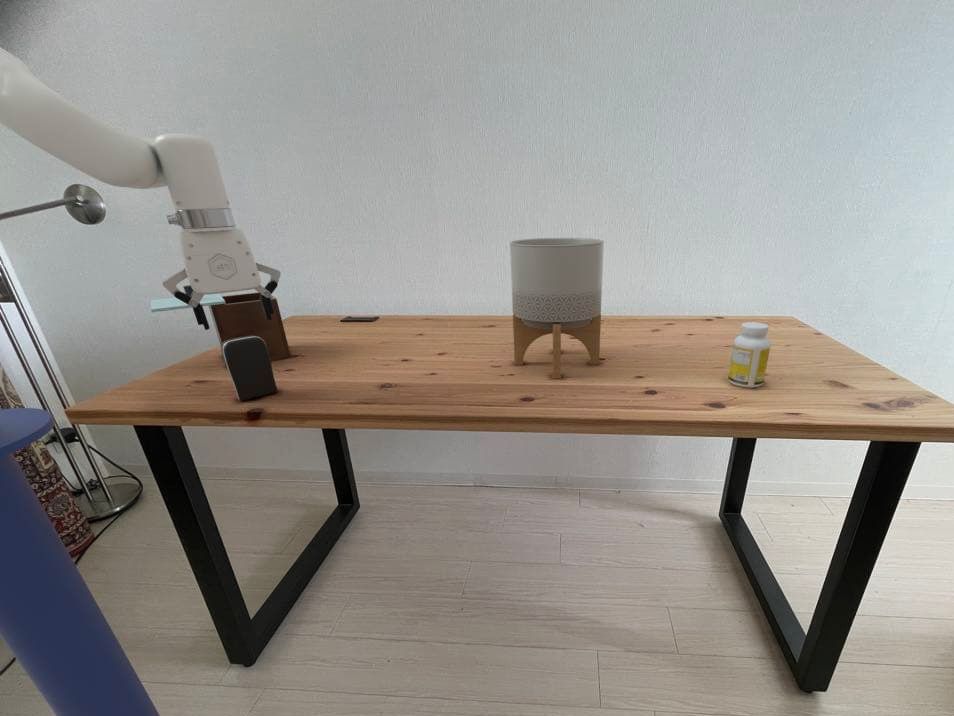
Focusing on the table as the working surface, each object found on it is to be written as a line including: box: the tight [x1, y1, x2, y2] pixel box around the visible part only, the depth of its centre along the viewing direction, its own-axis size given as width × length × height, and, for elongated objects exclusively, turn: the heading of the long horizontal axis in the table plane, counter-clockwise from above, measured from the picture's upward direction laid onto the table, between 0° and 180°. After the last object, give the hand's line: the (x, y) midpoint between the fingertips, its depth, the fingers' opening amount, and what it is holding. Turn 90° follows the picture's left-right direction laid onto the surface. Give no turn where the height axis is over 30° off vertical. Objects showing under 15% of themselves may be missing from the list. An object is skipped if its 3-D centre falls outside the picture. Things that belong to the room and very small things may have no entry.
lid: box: [150, 284, 226, 313], centre depth 98 cm, size 13×13×4 cm
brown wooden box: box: [207, 291, 292, 362], centre depth 107 cm, size 13×13×14 cm
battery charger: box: [220, 335, 279, 402], centre depth 85 cm, size 7×4×11 cm, turn 135°
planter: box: [509, 237, 605, 379], centre depth 97 cm, size 19×19×26 cm
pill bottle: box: [727, 321, 772, 389], centre depth 88 cm, size 6×6×12 cm
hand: (238, 323), depth 82 cm, fingers open, 9 cm apart
